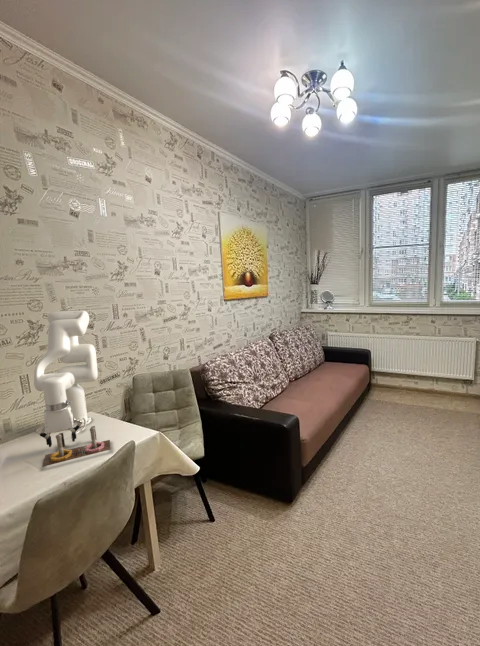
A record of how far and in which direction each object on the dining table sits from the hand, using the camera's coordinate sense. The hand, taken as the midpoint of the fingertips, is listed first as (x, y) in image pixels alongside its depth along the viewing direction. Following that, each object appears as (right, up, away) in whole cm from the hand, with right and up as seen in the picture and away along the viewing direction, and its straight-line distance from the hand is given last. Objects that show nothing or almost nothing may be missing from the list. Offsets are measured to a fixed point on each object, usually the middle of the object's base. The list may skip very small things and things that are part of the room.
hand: (62, 442), depth 136 cm
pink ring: (+13, -2, +2) cm, 13 cm away
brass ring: (+3, -3, -4) cm, 6 cm away
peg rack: (+9, -5, -2) cm, 10 cm away
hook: (-3, -2, +13) cm, 14 cm away
